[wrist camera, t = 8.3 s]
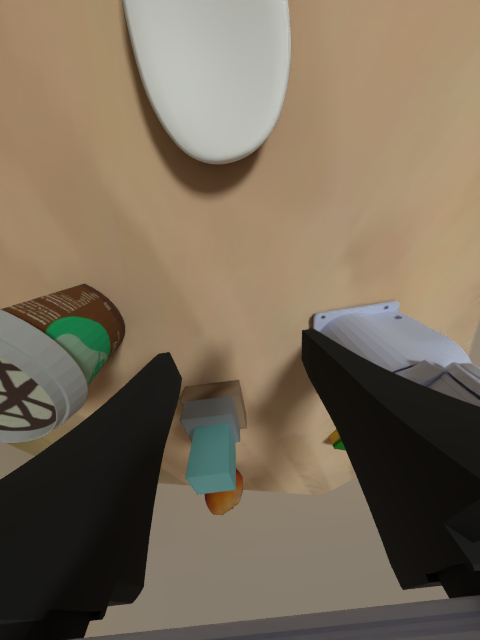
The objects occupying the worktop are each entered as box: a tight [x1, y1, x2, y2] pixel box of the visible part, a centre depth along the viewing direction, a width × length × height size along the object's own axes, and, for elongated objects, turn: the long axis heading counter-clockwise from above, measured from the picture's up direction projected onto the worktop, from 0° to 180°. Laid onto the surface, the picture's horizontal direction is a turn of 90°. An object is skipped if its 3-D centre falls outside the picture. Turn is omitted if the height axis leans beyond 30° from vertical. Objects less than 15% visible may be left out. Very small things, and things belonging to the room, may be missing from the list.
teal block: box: [185, 423, 236, 494], centre depth 21 cm, size 4×4×5 cm
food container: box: [0, 284, 125, 443], centre depth 16 cm, size 12×6×10 cm, turn 149°
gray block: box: [180, 396, 240, 442], centre depth 24 cm, size 6×6×2 cm
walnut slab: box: [181, 380, 247, 429], centre depth 27 cm, size 8×8×3 cm
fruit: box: [205, 469, 243, 515], centre depth 37 cm, size 8×8×8 cm
